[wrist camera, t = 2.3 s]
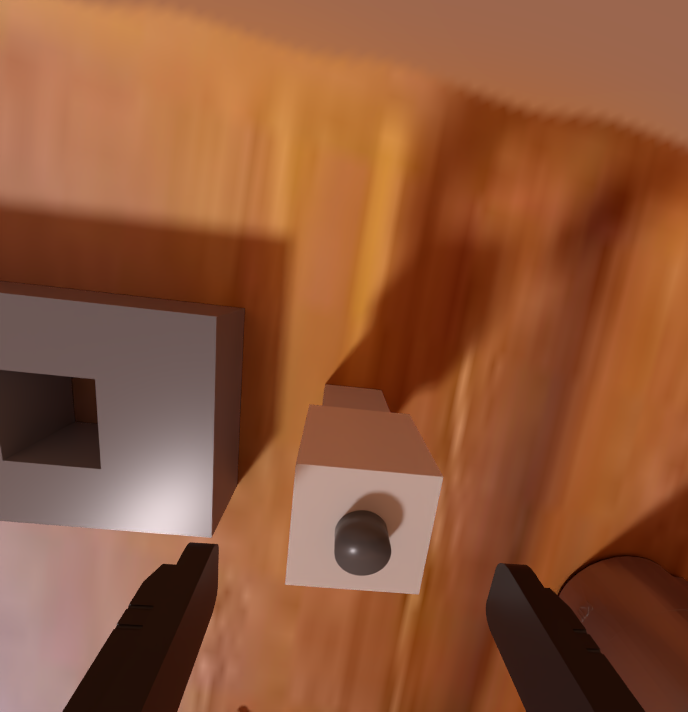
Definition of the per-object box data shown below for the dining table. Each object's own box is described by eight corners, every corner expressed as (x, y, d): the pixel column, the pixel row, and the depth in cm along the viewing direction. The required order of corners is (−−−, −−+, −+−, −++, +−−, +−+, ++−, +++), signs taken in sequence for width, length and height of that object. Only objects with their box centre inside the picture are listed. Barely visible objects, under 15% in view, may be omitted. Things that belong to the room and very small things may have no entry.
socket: (244, 308, 19) (216, 316, 14) (237, 485, 22) (211, 537, 17) (-38, 276, 18) (-158, 275, 14) (-9, 464, 21) (-102, 512, 16)
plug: (392, 382, 20) (451, 492, 10) (381, 450, 21) (424, 617, 11) (316, 374, 20) (292, 478, 9) (309, 443, 21) (281, 607, 10)
